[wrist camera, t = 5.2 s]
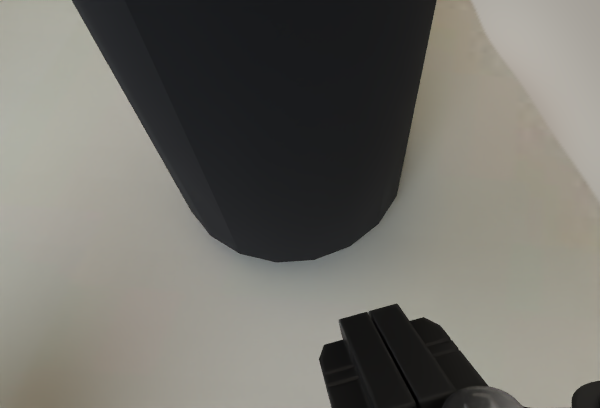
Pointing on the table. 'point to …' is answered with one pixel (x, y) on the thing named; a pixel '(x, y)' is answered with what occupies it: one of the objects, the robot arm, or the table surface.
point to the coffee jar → (273, 109)
